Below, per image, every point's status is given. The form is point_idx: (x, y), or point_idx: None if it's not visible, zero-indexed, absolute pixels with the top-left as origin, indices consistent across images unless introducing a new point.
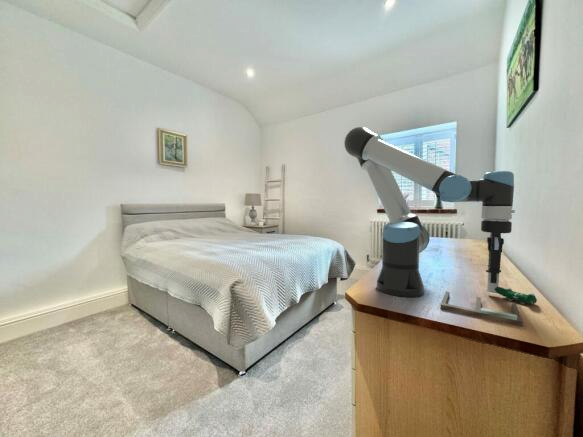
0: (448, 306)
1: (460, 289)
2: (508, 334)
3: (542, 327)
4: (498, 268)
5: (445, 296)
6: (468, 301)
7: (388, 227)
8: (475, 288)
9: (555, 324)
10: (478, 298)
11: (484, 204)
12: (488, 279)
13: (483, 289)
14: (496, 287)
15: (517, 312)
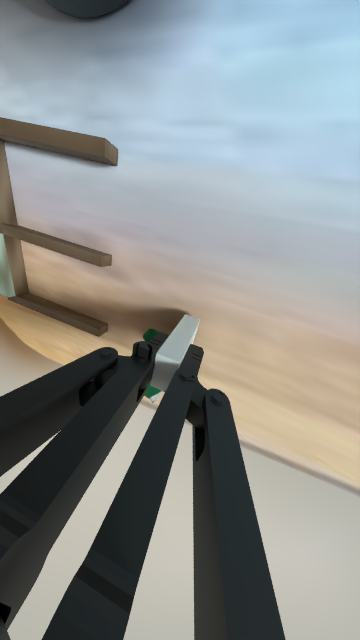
0: None
1: (232, 232)
2: None
3: (43, 328)
4: (81, 387)
5: (43, 133)
6: (102, 231)
7: None
8: (266, 300)
9: (68, 354)
10: (88, 257)
11: None
12: (170, 336)
13: (258, 324)
14: (151, 337)
15: (46, 312)
